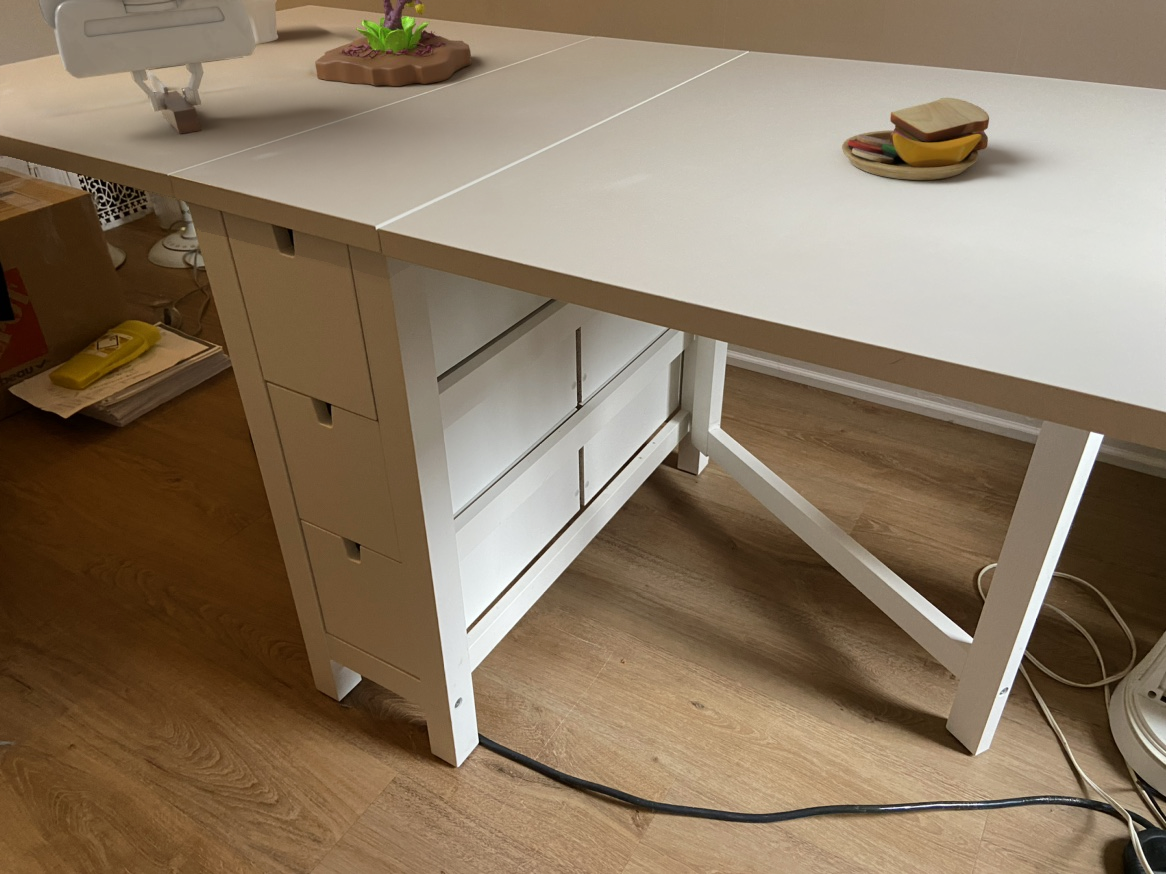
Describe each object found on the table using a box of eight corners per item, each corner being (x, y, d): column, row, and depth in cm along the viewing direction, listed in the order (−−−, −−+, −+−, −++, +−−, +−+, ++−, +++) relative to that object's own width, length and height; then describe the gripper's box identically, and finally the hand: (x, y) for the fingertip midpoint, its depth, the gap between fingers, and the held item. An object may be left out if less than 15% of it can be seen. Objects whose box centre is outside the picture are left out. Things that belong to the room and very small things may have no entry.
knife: (201, 130, 99) (194, 102, 98) (179, 134, 98) (171, 106, 97) (166, 94, 113) (159, 70, 112) (146, 97, 112) (139, 73, 111)
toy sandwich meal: (823, 145, 89) (829, 97, 87) (951, 139, 90) (961, 91, 88) (867, 187, 79) (875, 133, 76) (1010, 179, 80) (1024, 126, 77)
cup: (291, 50, 135) (275, -31, 128) (206, 56, 132) (185, -26, 126) (294, 35, 145) (279, -41, 138) (215, 41, 142) (196, -36, 136)
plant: (366, 51, 133) (353, -32, 126) (486, 56, 128) (480, -30, 122) (296, 83, 117) (278, -10, 111) (431, 89, 113) (420, -7, 106)
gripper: (34, -14, 87) (83, 128, 95) (242, -33, 96) (271, 99, 104) (28, -21, 91) (75, 116, 99) (228, -39, 100) (256, 88, 108)
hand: (177, 107), depth 101 cm, fingers closed on knife, 2 cm apart
